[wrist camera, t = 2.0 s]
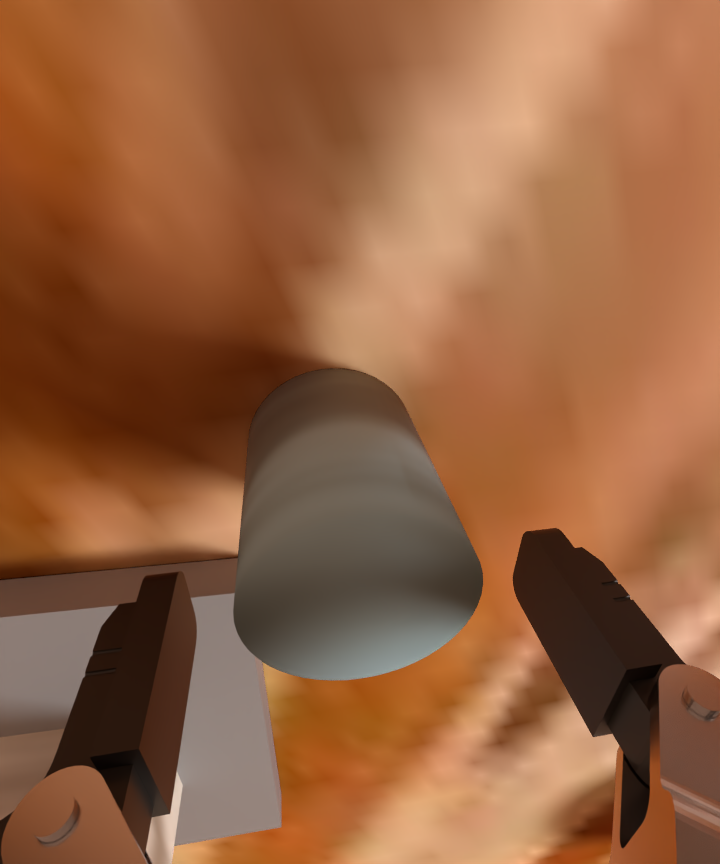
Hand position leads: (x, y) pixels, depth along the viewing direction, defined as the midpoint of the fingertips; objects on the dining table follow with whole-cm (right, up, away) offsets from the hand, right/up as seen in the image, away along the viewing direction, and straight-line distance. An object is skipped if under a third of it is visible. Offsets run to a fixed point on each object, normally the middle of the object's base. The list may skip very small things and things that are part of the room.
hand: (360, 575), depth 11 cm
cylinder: (-1, +3, +3) cm, 5 cm away
